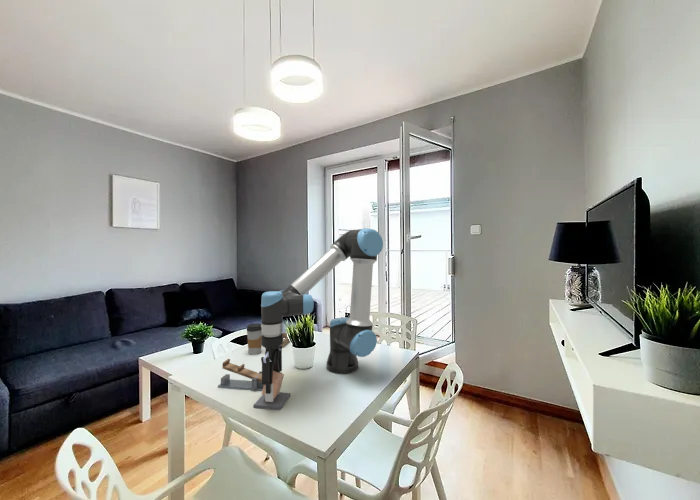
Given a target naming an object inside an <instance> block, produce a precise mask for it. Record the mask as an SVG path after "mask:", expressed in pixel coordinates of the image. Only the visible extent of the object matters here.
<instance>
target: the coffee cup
mask: <svg viewBox="0 0 700 500" xmlns="http://www.w3.org/2000/svg"><path fill="white" fill-rule="evenodd" d="M261 325H262V323H258V322H257V323H250V324H247V327H246V335H247V339H246V340H247V347H248V348H247V349H248V354H249V355H250V356H255V355H260V354H261V352H262V347H263V346H262V327H261Z"/></svg>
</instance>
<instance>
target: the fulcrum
mask: <svg viewBox="0 0 700 500" xmlns="http://www.w3.org/2000/svg"><path fill="white" fill-rule="evenodd" d="M258 373H262V370H261V371H259V372H258ZM263 387H264V385H262V382H259V381H257V378H252V379H251V380H244V379H243V380H242V379H232V378H231V374H230V373H228V374H227V373H226V374H224V375H223V376H222V377H220V383H219V384H218V385H217V388H219V389H229V390H232V389H233V390H244V391H247V390H248V391H259V392H262V391H263Z"/></svg>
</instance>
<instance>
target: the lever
mask: <svg viewBox="0 0 700 500" xmlns="http://www.w3.org/2000/svg"><path fill="white" fill-rule="evenodd" d="M230 361H231V359H230V358H227V359H226V360H224V361H222V365H221V366H222V367H221V369H223V370H226V371H228V372H231V373H234V374H237V375H239V376H242V377H245V378H248V379H251V380H252V378H257V381H259V382H262V373H259V372H257V371H255V370H251V369H249V368H246V367H245V363H242V364H241V365H237V364H234V363H231V362H230Z"/></svg>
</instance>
